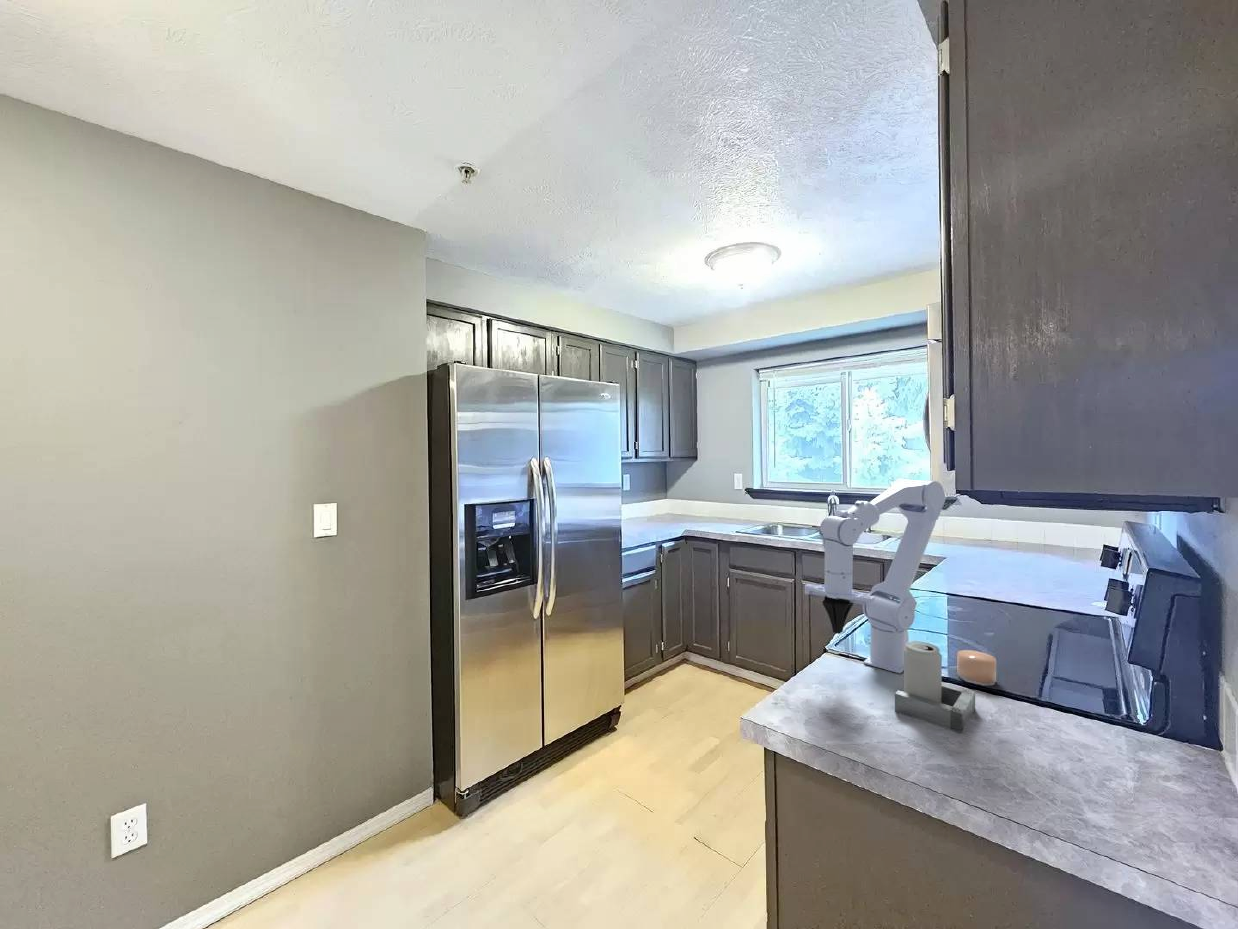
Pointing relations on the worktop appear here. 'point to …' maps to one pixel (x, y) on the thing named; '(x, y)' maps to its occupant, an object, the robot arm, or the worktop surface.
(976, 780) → the worktop surface
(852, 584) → the robot arm
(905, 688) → the beverage can
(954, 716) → the grey piece
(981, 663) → the peach cylinder plug
